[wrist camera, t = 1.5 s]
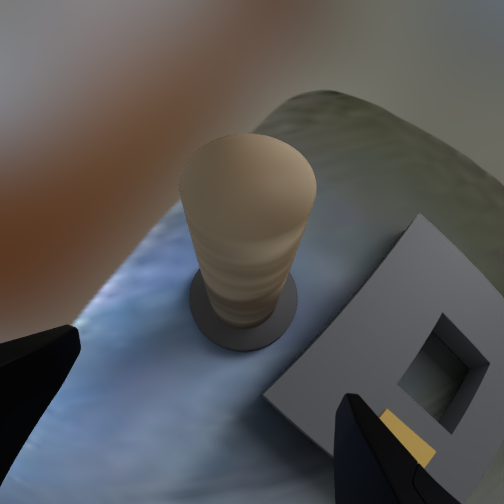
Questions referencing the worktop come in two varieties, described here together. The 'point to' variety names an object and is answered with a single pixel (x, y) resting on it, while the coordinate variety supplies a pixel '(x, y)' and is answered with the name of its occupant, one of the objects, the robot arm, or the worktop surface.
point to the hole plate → (409, 359)
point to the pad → (242, 337)
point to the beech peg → (246, 221)
